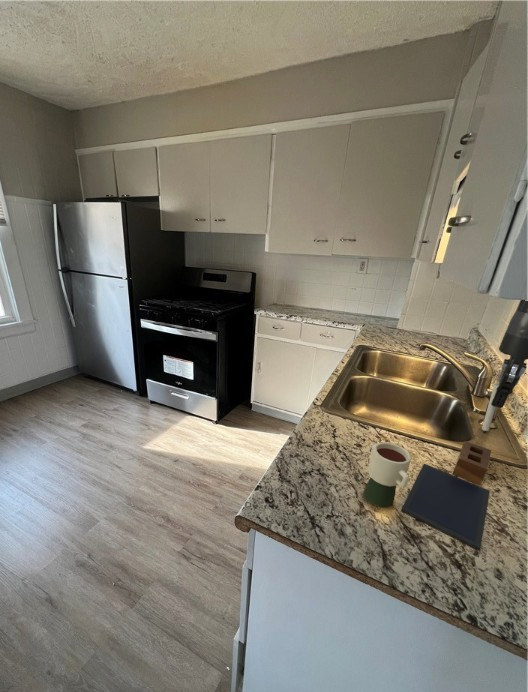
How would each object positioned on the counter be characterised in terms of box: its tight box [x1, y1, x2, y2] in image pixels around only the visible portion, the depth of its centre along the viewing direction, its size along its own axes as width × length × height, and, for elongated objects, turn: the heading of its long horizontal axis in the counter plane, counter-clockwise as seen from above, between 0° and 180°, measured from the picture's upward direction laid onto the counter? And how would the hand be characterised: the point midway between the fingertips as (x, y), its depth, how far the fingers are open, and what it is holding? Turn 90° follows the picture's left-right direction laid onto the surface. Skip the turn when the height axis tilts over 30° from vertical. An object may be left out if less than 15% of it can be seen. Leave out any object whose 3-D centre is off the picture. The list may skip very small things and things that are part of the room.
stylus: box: [481, 382, 499, 434], centre depth 75 cm, size 1×1×13 cm
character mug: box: [363, 441, 412, 508], centre depth 67 cm, size 11×7×13 cm, turn 14°
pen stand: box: [451, 440, 492, 486], centre depth 79 cm, size 10×6×5 cm, turn 140°
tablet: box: [400, 463, 491, 551], centre depth 70 cm, size 20×14×1 cm
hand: (496, 404), depth 74 cm, fingers closed on stylus, 1 cm apart
